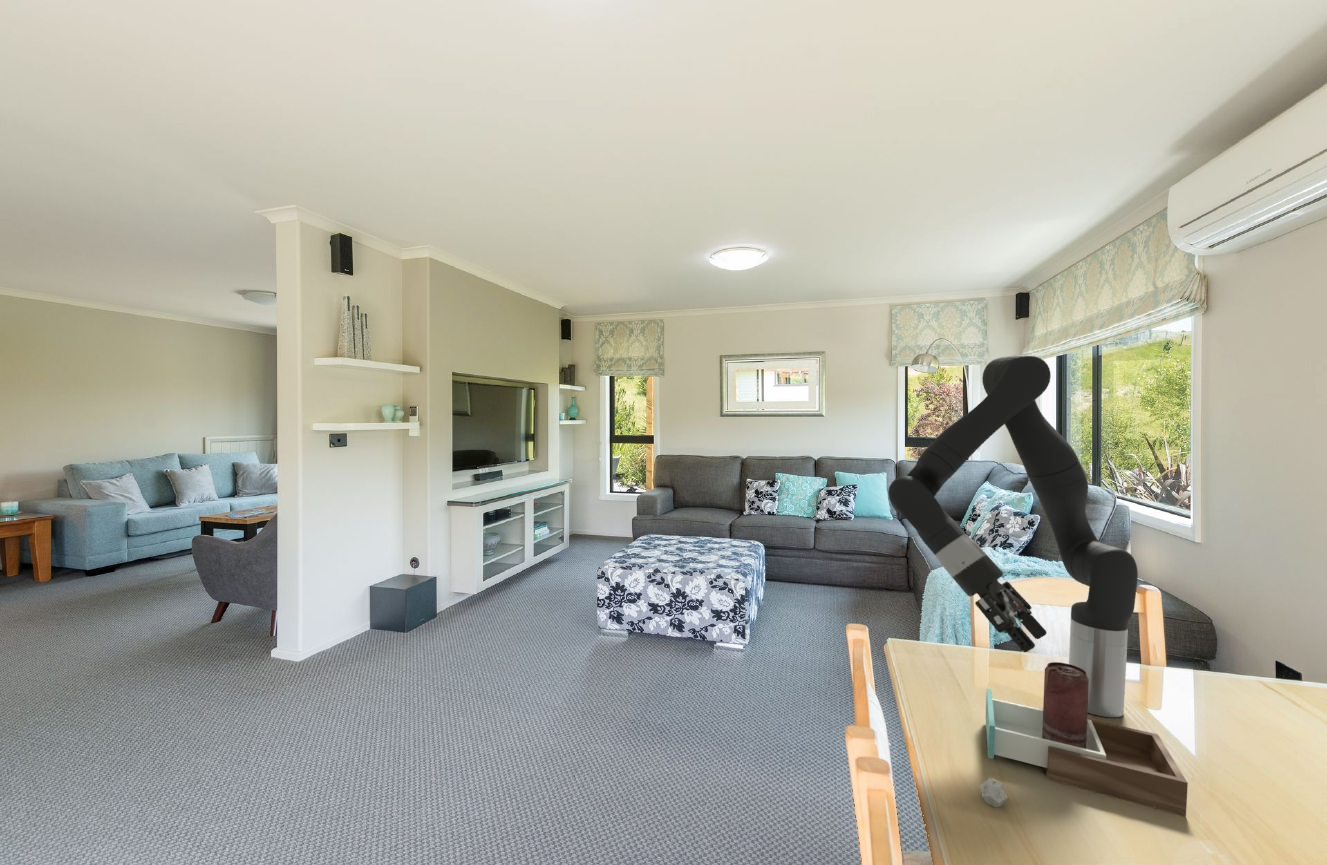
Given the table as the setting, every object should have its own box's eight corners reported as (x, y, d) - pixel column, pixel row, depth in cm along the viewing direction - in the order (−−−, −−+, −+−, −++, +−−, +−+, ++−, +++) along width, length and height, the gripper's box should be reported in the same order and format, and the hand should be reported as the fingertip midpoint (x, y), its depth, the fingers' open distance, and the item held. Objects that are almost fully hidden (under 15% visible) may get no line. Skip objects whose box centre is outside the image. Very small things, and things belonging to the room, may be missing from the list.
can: (1032, 739, 100) (1035, 660, 100) (1065, 738, 101) (1069, 660, 100) (1059, 760, 94) (1062, 676, 94) (1094, 759, 95) (1098, 675, 94)
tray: (985, 716, 109) (986, 688, 109) (1088, 740, 102) (1090, 710, 101) (988, 756, 96) (989, 725, 96) (1106, 787, 88) (1108, 753, 88)
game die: (976, 802, 86) (977, 783, 86) (983, 791, 89) (984, 772, 89) (1003, 814, 84) (1004, 794, 84) (1009, 801, 86) (1010, 782, 86)
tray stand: (1037, 734, 105) (1038, 707, 105) (1156, 762, 97) (1157, 733, 97) (1047, 779, 92) (1049, 748, 92) (1185, 815, 84) (1187, 782, 84)
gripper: (971, 559, 100) (1045, 643, 93) (995, 547, 111) (1064, 622, 103) (939, 582, 104) (1007, 665, 97) (964, 569, 115) (1028, 642, 107)
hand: (1036, 642), depth 100 cm, fingers open, 8 cm apart
